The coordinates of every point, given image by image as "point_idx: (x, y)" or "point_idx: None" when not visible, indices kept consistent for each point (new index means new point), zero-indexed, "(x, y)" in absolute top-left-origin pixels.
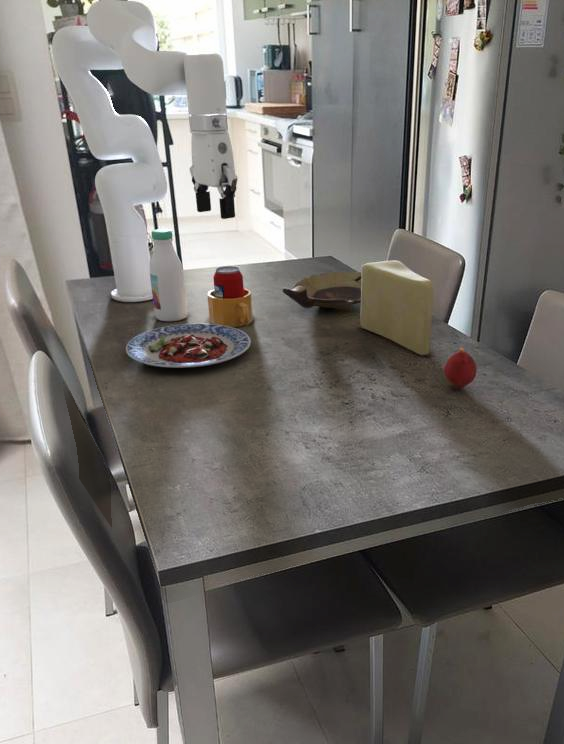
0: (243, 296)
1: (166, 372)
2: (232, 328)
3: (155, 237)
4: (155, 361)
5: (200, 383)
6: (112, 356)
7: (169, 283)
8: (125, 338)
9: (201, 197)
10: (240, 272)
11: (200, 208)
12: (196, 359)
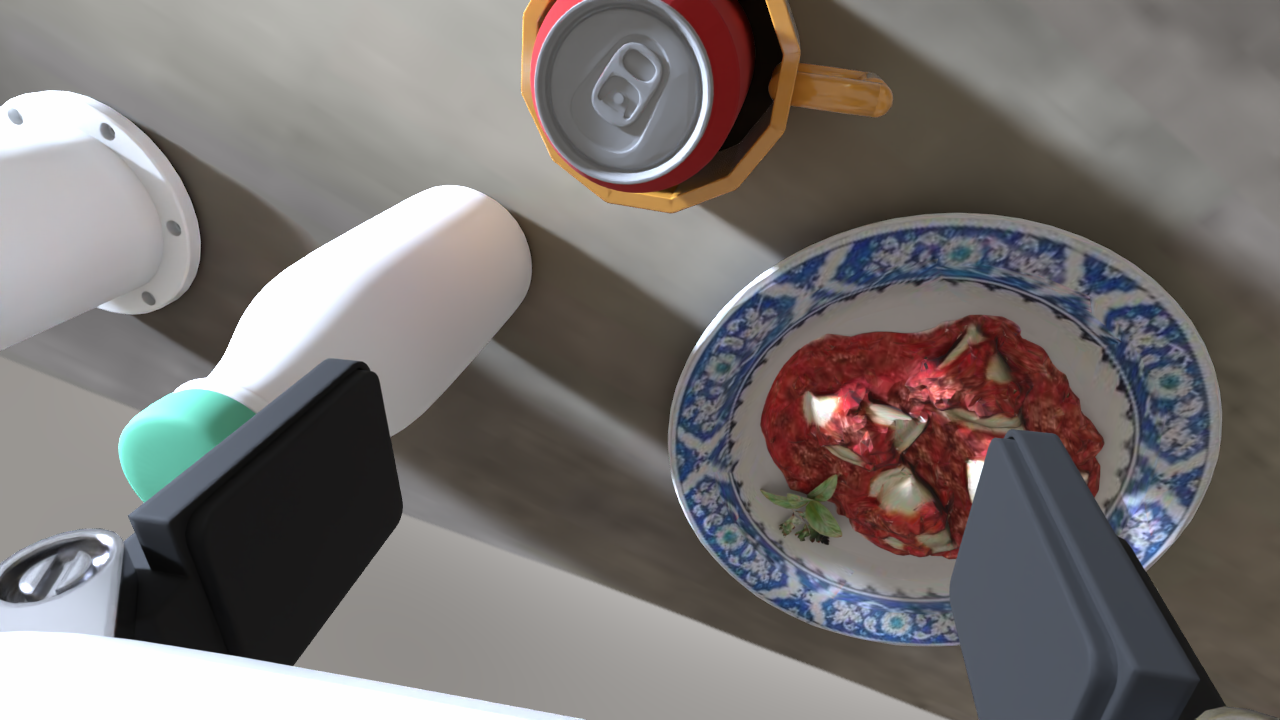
0: (781, 44)
1: None
2: (920, 229)
3: None
4: None
5: (1193, 572)
6: (733, 600)
7: (463, 361)
8: (600, 498)
9: (295, 606)
10: (684, 3)
11: (382, 525)
12: None
